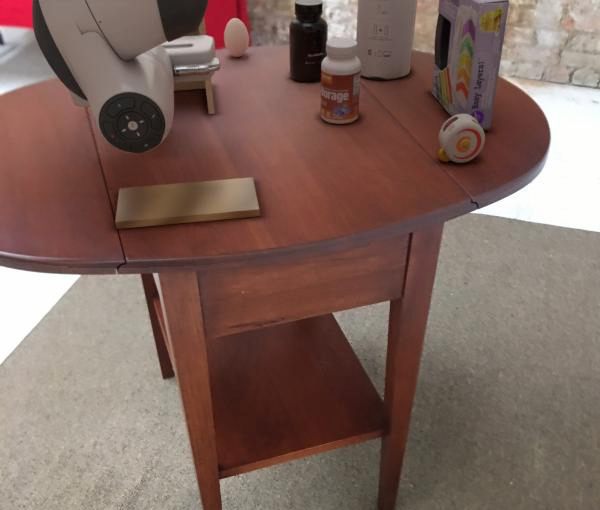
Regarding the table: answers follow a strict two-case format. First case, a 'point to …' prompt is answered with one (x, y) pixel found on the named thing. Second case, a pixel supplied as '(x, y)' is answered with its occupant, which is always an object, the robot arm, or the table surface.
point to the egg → (236, 37)
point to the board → (186, 202)
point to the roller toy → (460, 139)
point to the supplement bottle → (307, 41)
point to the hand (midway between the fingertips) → (141, 42)
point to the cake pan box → (469, 56)
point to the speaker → (385, 37)
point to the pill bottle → (340, 81)
